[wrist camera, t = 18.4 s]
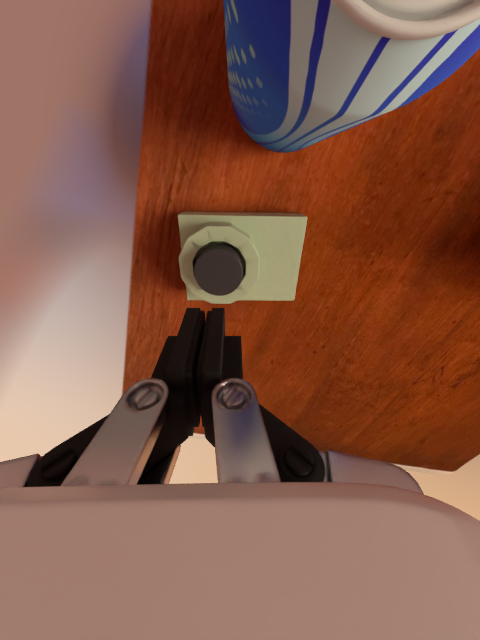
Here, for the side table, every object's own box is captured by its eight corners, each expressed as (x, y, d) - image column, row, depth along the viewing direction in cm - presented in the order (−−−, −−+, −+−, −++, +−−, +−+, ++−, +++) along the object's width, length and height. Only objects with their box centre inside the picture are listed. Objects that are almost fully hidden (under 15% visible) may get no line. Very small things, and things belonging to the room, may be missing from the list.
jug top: (190, 291, 25) (184, 308, 22) (182, 211, 21) (172, 217, 18) (289, 291, 26) (298, 309, 22) (301, 213, 21) (313, 219, 18)
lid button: (198, 287, 21) (196, 296, 20) (194, 243, 19) (191, 249, 18) (241, 288, 21) (242, 296, 20) (242, 243, 19) (243, 249, 18)
